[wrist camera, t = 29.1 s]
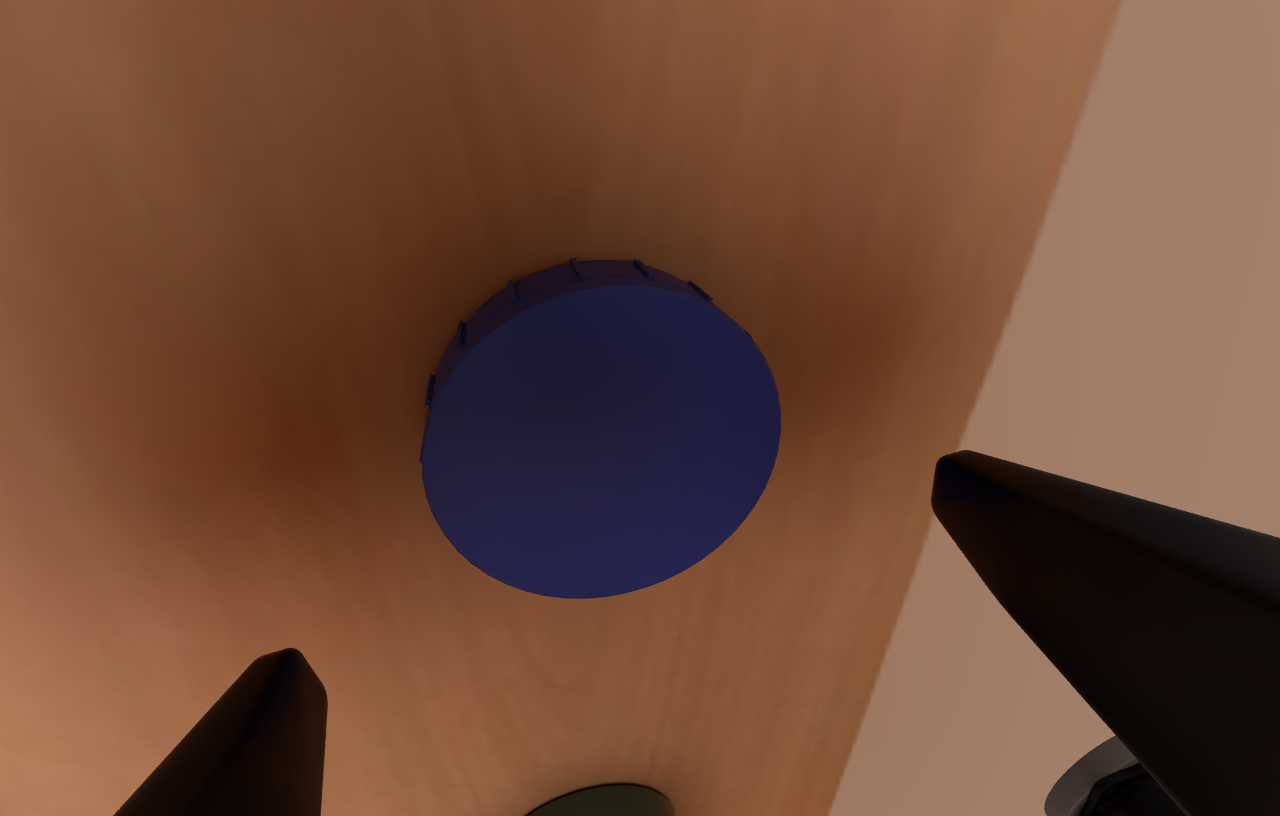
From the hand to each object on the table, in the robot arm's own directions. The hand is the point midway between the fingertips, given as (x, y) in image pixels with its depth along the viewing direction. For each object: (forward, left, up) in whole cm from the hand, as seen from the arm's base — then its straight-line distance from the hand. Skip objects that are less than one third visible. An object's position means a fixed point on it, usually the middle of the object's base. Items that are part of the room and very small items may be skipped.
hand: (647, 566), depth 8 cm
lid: (0, 0, -4) cm, 4 cm away
